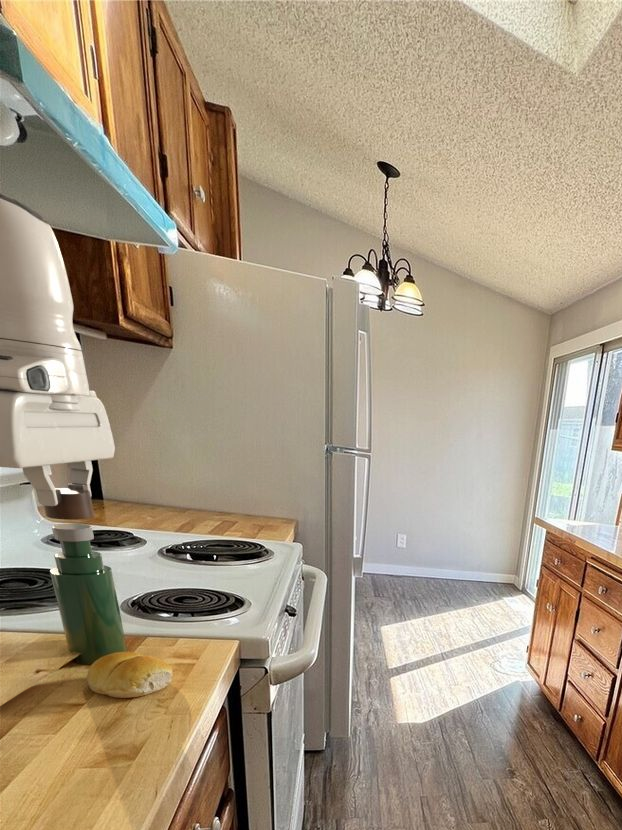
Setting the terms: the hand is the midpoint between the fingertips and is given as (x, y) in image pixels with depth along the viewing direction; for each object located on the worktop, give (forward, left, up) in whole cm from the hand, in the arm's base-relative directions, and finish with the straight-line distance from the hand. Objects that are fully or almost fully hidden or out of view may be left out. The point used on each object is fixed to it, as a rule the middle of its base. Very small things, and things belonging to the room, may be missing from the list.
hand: (67, 501), depth 68 cm
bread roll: (+8, -9, -21) cm, 24 cm away
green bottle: (0, 0, -20) cm, 21 cm away
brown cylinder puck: (0, 0, -2) cm, 2 cm away
